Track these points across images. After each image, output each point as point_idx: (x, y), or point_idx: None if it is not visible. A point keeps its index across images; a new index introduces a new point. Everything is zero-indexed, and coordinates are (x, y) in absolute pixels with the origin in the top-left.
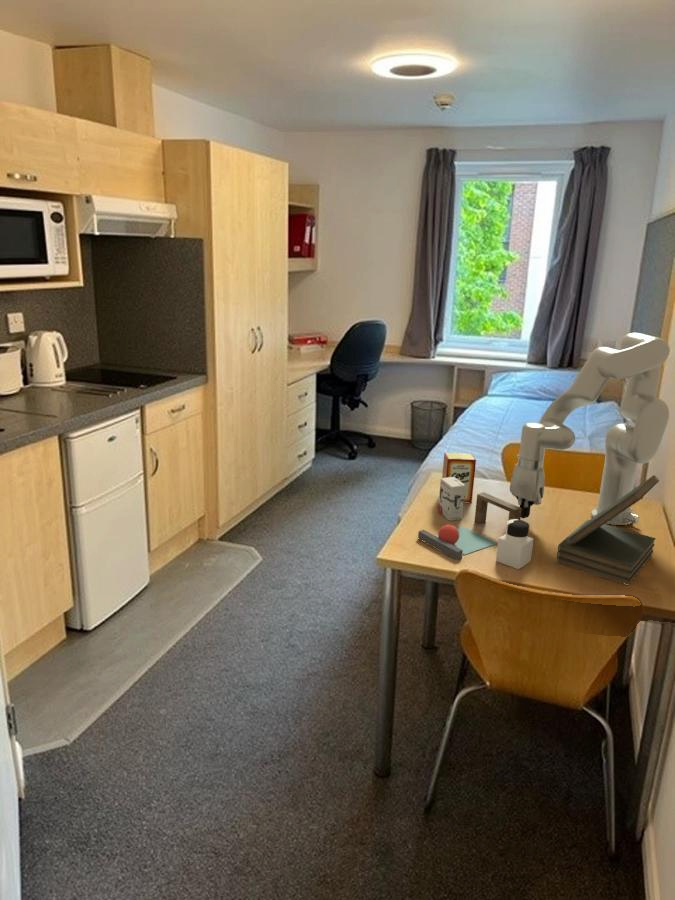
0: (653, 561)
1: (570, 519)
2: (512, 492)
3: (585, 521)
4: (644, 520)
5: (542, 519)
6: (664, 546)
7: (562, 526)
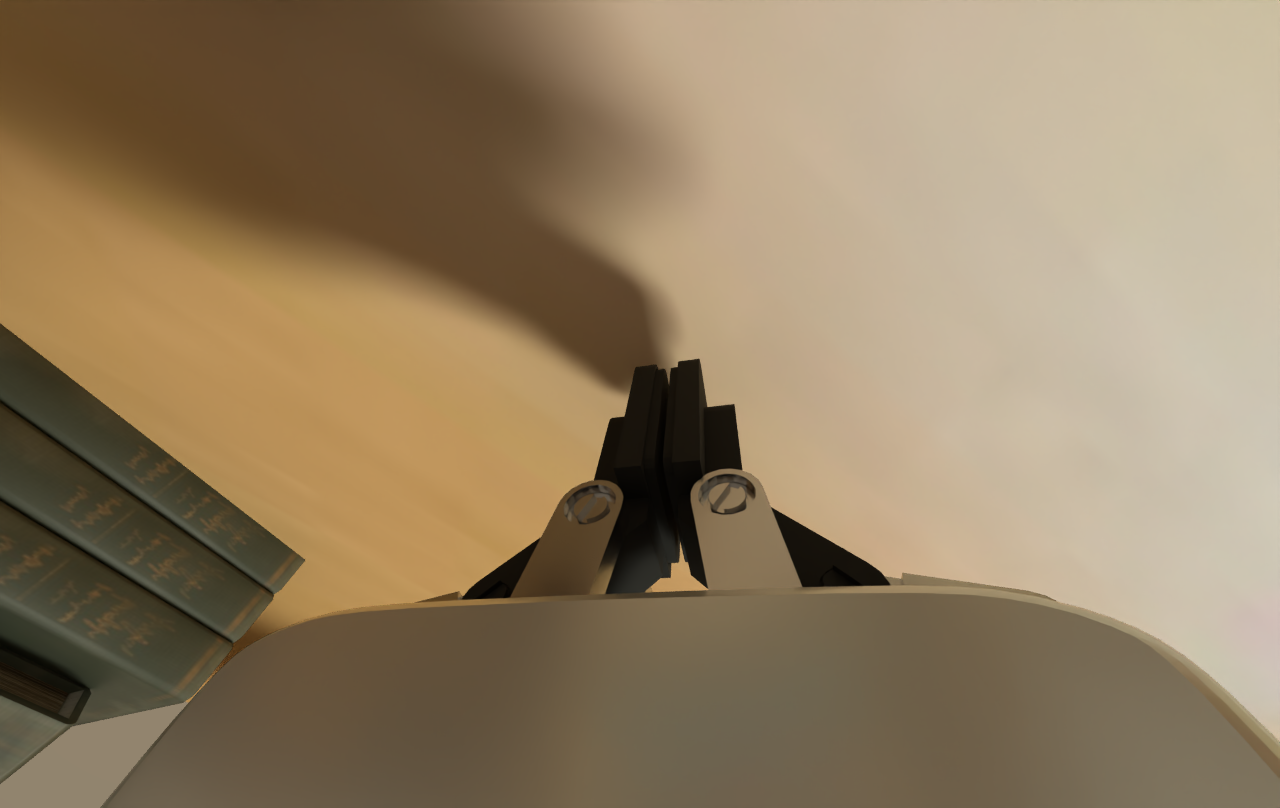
0: None
1: None
2: (993, 624)
3: (132, 673)
4: None
5: None
6: None
7: (485, 561)
